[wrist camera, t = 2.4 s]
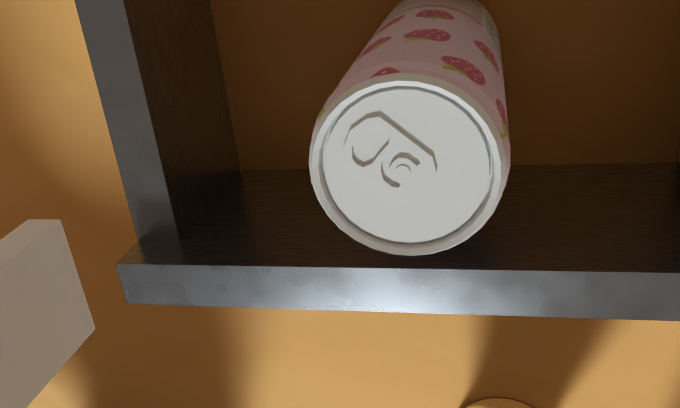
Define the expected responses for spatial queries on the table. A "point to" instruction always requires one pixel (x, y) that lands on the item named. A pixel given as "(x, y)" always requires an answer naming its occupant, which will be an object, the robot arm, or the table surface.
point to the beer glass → (497, 403)
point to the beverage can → (416, 131)
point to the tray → (323, 234)
